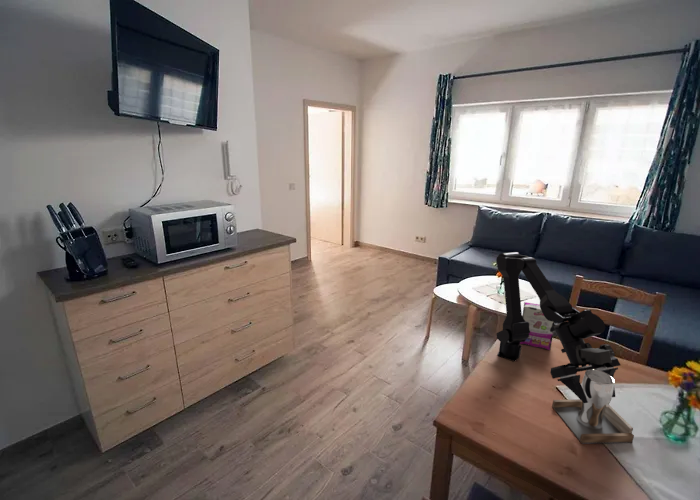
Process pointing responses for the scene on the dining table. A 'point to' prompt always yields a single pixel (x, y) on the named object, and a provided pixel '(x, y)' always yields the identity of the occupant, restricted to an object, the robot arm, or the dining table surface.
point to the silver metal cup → (595, 398)
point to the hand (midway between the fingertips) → (599, 400)
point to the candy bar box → (537, 327)
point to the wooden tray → (610, 432)
